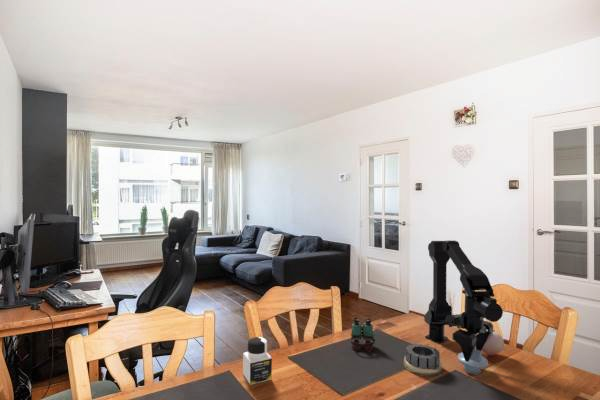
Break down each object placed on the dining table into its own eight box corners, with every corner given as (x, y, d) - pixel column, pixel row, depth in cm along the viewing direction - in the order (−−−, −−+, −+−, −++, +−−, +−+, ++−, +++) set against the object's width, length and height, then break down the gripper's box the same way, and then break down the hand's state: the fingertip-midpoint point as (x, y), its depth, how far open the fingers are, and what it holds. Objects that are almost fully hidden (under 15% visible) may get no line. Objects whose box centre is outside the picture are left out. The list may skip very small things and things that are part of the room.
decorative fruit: (503, 363, 122) (504, 335, 121) (477, 358, 126) (477, 330, 125) (503, 353, 130) (504, 326, 130) (478, 347, 134) (479, 322, 134)
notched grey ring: (415, 355, 127) (415, 340, 127) (447, 368, 118) (448, 352, 118) (396, 366, 119) (397, 350, 119) (430, 380, 110) (430, 363, 110)
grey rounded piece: (452, 369, 117) (453, 348, 117) (464, 361, 123) (464, 341, 123) (481, 380, 111) (481, 358, 110) (491, 371, 117) (492, 350, 117)
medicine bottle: (250, 385, 106) (250, 346, 106) (242, 374, 112) (243, 337, 112) (271, 379, 109) (272, 341, 109) (263, 369, 116) (263, 333, 115)
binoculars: (351, 327, 127) (350, 315, 137) (351, 355, 128) (350, 340, 138) (376, 329, 126) (373, 316, 136) (376, 356, 127) (373, 341, 137)
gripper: (461, 299, 129) (460, 341, 129) (437, 310, 116) (436, 356, 117) (494, 306, 120) (493, 351, 121) (472, 319, 108) (470, 369, 108)
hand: (472, 356), depth 117 cm, fingers open, 9 cm apart
